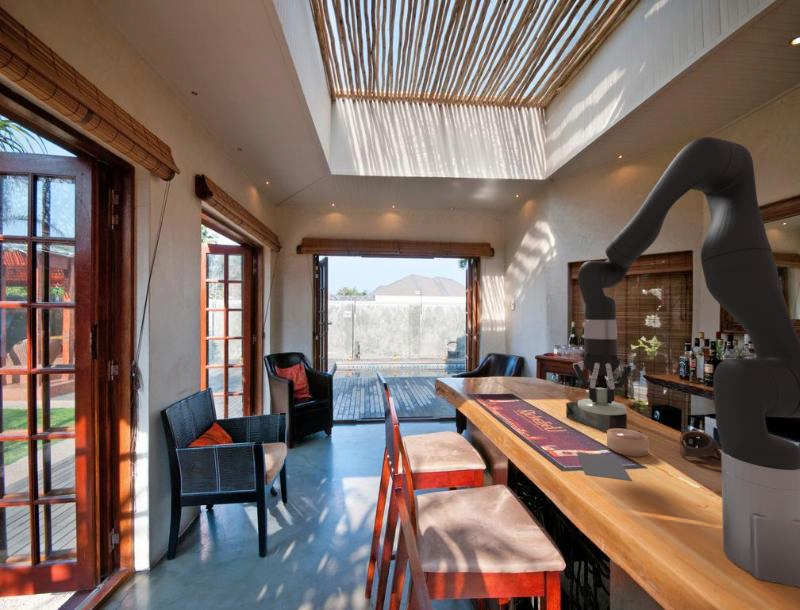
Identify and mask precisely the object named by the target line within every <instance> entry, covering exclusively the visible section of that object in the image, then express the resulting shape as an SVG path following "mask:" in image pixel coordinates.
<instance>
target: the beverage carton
mask: <svg viewBox="0 0 800 610" xmlns="http://www.w3.org/2000/svg"><path fill="white" fill-rule="evenodd" d="M578 401H579V400H577V401H574V400H571V401H569V402H566V403H565V406H566V408H565V409H566V411H565V414H566V415H565V416H566V418H567V419H570V420H572V421H575V422H577V423H580V424H583V425H586V426H588V427H591V428H595V429H597V430H601V431H603V432H604V433H605V432H606V433H607V430H609V429H615V428H619V429H628V428H627V427H628V423H627V422H628V419H627V418H628V415H627V413H625V414H622V415H603V414H596V413H591V412H587V411H584V410H582V409H580V408H579V407H578Z"/></svg>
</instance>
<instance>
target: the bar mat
mask: <svg viewBox="0 0 800 610" xmlns="http://www.w3.org/2000/svg"><path fill="white" fill-rule="evenodd" d="M576 455H577V458H578V460H579V463H580V465H581V467H582V470H583V472H584V475H585V476H591V477H599V478H607V479H614V480H622V481H629V482H633V480H632V478H631V477H630V475H629V473H628V472H627V470H626V469H625V467H624V466H623V464H622V463H621V461H620V459H619V457H618V456H616V455H615V456H614V455H606V454H604V455H603V454H597V453H589V452H580V451H577V452H576Z"/></svg>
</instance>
